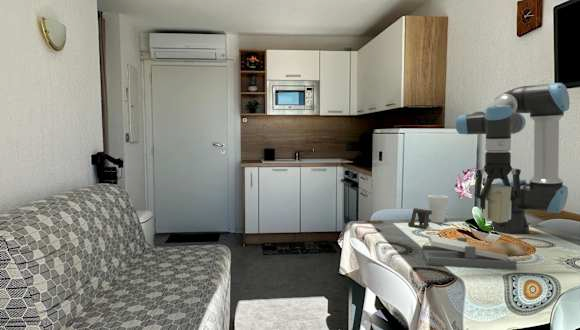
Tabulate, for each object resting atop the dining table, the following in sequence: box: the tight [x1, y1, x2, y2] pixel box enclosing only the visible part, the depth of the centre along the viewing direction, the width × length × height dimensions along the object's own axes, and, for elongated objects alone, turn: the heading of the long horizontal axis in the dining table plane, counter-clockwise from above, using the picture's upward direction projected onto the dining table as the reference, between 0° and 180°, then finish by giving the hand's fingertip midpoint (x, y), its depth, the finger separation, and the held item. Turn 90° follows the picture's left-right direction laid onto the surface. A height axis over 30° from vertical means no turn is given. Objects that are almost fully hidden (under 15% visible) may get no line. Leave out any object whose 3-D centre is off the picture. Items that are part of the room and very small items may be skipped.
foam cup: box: [427, 194, 449, 224], centre depth 190 cm, size 10×9×13 cm
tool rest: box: [489, 241, 528, 256], centre depth 139 cm, size 12×12×2 cm
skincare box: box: [486, 182, 512, 223], centre depth 126 cm, size 6×4×12 cm
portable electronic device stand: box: [407, 207, 432, 230], centre depth 179 cm, size 9×8×8 cm
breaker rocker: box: [427, 234, 509, 261], centre depth 129 cm, size 24×9×2 cm, turn 78°
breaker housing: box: [421, 236, 517, 270], centre depth 130 cm, size 27×15×6 cm, turn 78°
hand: (496, 218), depth 127 cm, fingers closed on skincare box, 6 cm apart
